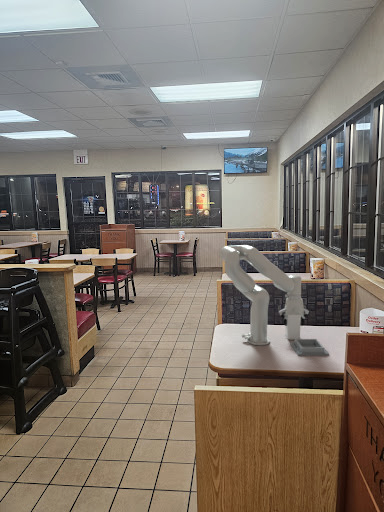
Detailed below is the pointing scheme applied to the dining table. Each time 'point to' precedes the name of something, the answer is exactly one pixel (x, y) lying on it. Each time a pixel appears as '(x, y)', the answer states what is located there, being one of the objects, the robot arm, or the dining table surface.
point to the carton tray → (308, 347)
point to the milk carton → (293, 326)
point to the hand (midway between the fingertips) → (293, 324)
